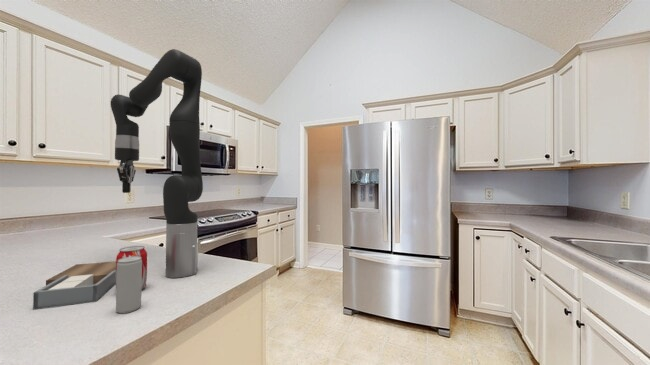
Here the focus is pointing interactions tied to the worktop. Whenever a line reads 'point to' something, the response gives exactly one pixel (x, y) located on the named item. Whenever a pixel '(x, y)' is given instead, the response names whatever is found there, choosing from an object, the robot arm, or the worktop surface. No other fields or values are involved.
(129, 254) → the soda can
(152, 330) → the worktop surface
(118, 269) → the grey cylinder
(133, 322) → the worktop surface
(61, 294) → the grey tray
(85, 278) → the rear tile
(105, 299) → the worktop surface
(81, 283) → the front tile
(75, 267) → the walnut board
